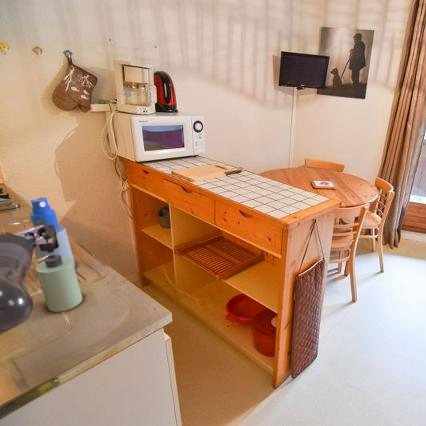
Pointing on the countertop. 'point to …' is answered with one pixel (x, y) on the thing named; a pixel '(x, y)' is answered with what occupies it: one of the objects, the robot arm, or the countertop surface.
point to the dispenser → (59, 283)
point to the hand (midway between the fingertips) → (15, 227)
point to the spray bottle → (49, 216)
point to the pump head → (49, 247)
